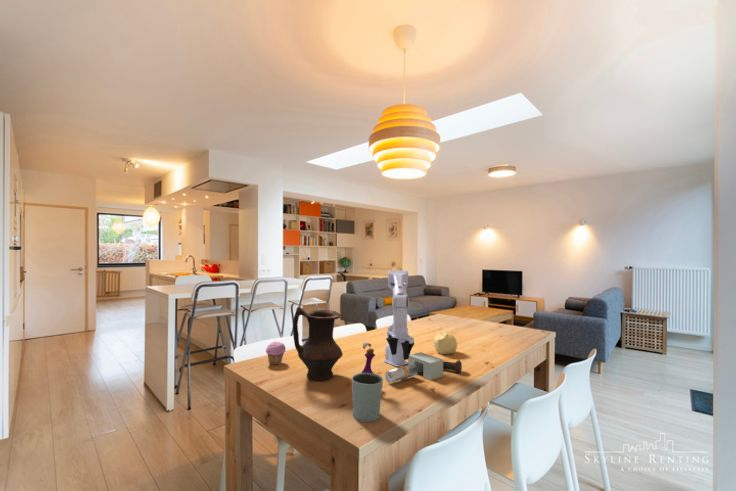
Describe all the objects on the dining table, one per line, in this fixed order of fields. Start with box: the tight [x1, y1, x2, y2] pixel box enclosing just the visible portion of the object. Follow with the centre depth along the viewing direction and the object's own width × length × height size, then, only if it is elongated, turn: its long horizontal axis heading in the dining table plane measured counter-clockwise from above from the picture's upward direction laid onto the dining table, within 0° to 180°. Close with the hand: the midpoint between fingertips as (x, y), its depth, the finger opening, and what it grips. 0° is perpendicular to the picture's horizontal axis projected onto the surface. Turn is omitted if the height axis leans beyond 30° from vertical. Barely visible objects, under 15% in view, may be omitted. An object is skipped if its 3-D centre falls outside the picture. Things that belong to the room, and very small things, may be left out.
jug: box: [292, 305, 344, 382], centre depth 141 cm, size 21×18×30 cm
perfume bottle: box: [361, 342, 376, 374], centre depth 128 cm, size 8×8×18 cm
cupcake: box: [265, 341, 286, 365], centre depth 157 cm, size 9×9×10 cm
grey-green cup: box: [351, 372, 384, 423], centre depth 108 cm, size 10×10×12 cm
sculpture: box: [433, 331, 458, 355], centre depth 177 cm, size 12×12×11 cm
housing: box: [407, 351, 444, 381], centre depth 146 cm, size 13×8×7 cm, turn 37°
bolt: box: [443, 359, 463, 374], centre depth 151 cm, size 6×5×15 cm
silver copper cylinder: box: [384, 364, 419, 384], centre depth 138 cm, size 6×14×6 cm, turn 127°
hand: (399, 356), depth 139 cm, fingers open, 7 cm apart
